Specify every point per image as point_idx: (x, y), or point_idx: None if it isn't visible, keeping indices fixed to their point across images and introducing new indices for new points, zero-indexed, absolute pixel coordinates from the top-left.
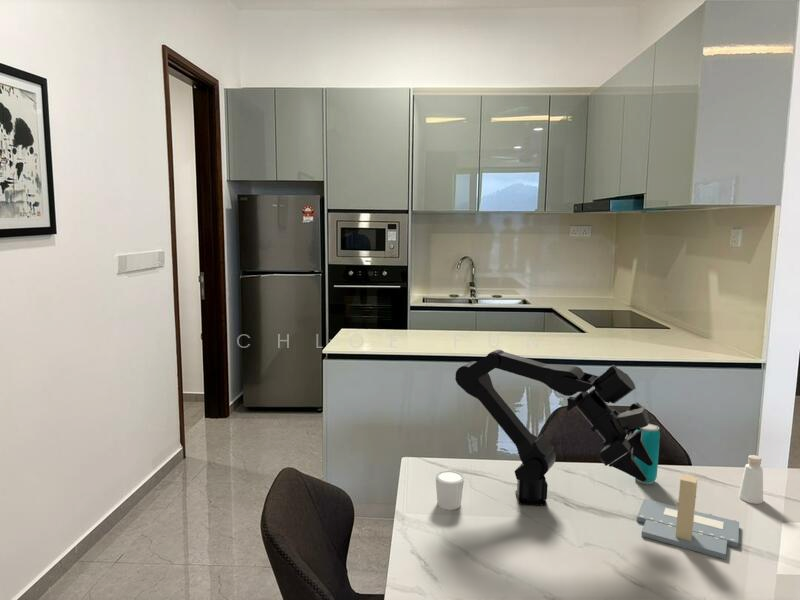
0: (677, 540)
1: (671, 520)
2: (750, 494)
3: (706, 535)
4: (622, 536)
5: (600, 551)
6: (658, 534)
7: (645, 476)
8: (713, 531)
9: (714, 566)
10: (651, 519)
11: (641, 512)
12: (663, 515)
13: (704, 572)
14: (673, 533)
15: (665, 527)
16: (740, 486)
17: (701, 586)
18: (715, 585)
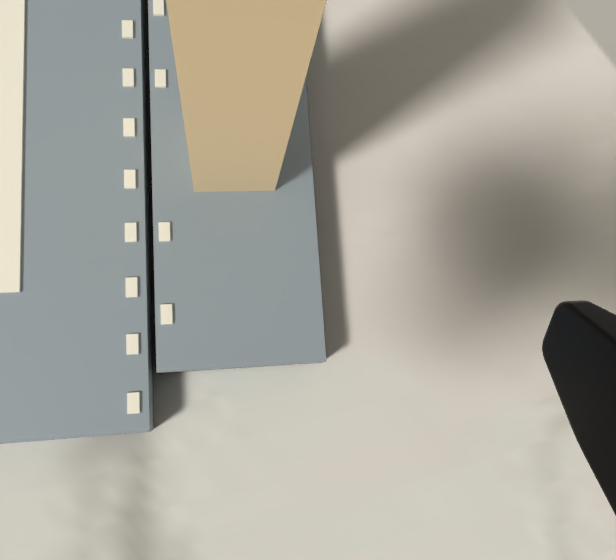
0: (307, 176)
1: (80, 236)
2: None
3: (154, 51)
4: (383, 452)
5: (599, 505)
6: (303, 273)
7: (590, 313)
8: (79, 22)
9: (381, 28)
10: (138, 343)
11: (75, 420)
12: (35, 289)
13: (457, 62)
14: (242, 204)
15: (196, 253)
16: None
17: (567, 67)
18: (524, 21)
